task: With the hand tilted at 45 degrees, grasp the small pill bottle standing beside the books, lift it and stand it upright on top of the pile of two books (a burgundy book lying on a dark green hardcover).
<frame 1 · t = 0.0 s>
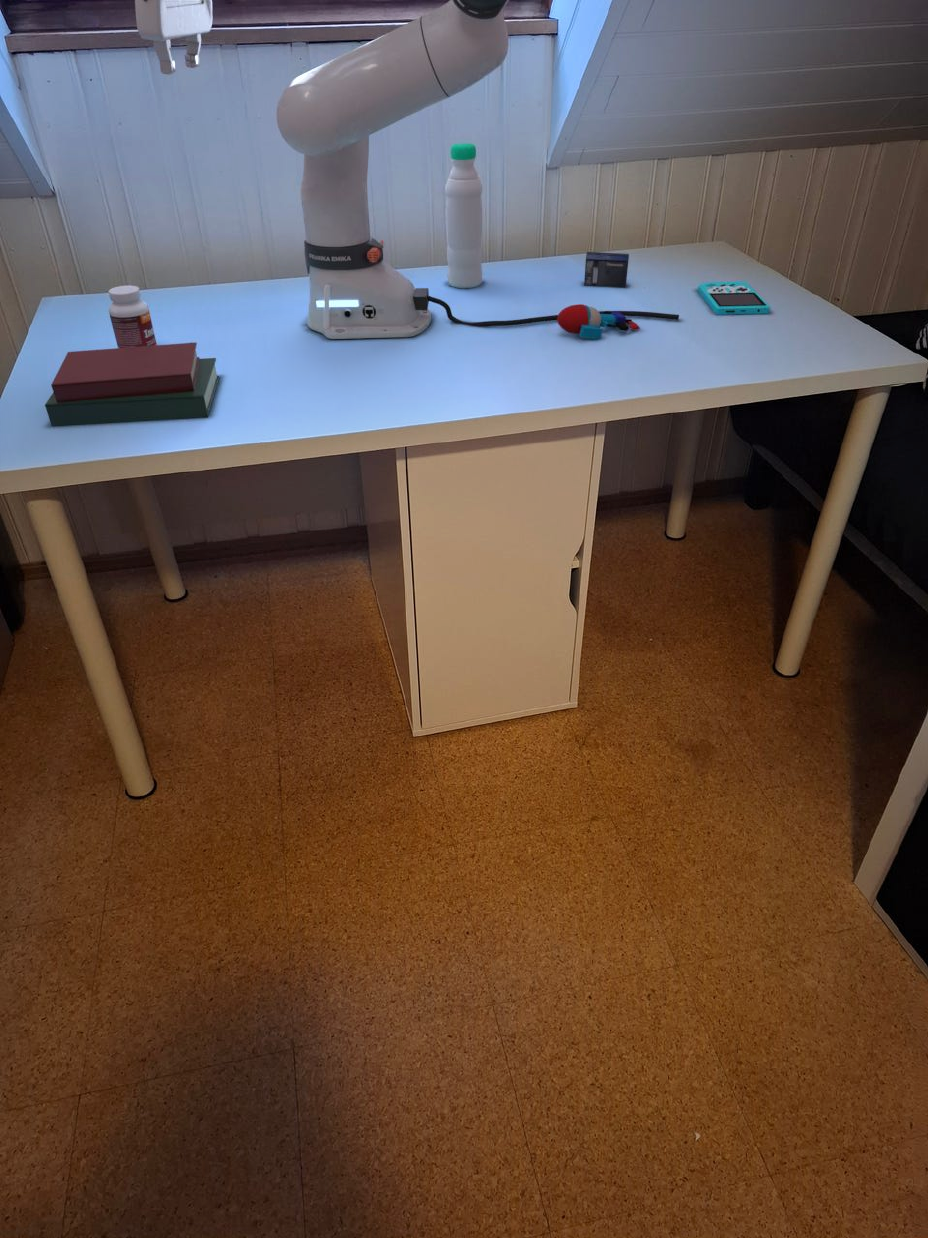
hand: (181, 70, 137), 39 cm above the table, tool pointing down, fingers open, 8 cm apart
toy figure: (595, 332, 152), on the table
handheld game console: (731, 301, 164), on the table
water bottle: (464, 284, 175), on the table
lower book: (139, 400, 131), on the table
pill bottle: (140, 358, 145), on the table
upper book: (131, 379, 129), resting on lower book
mini dv tape: (604, 286, 173), on the table
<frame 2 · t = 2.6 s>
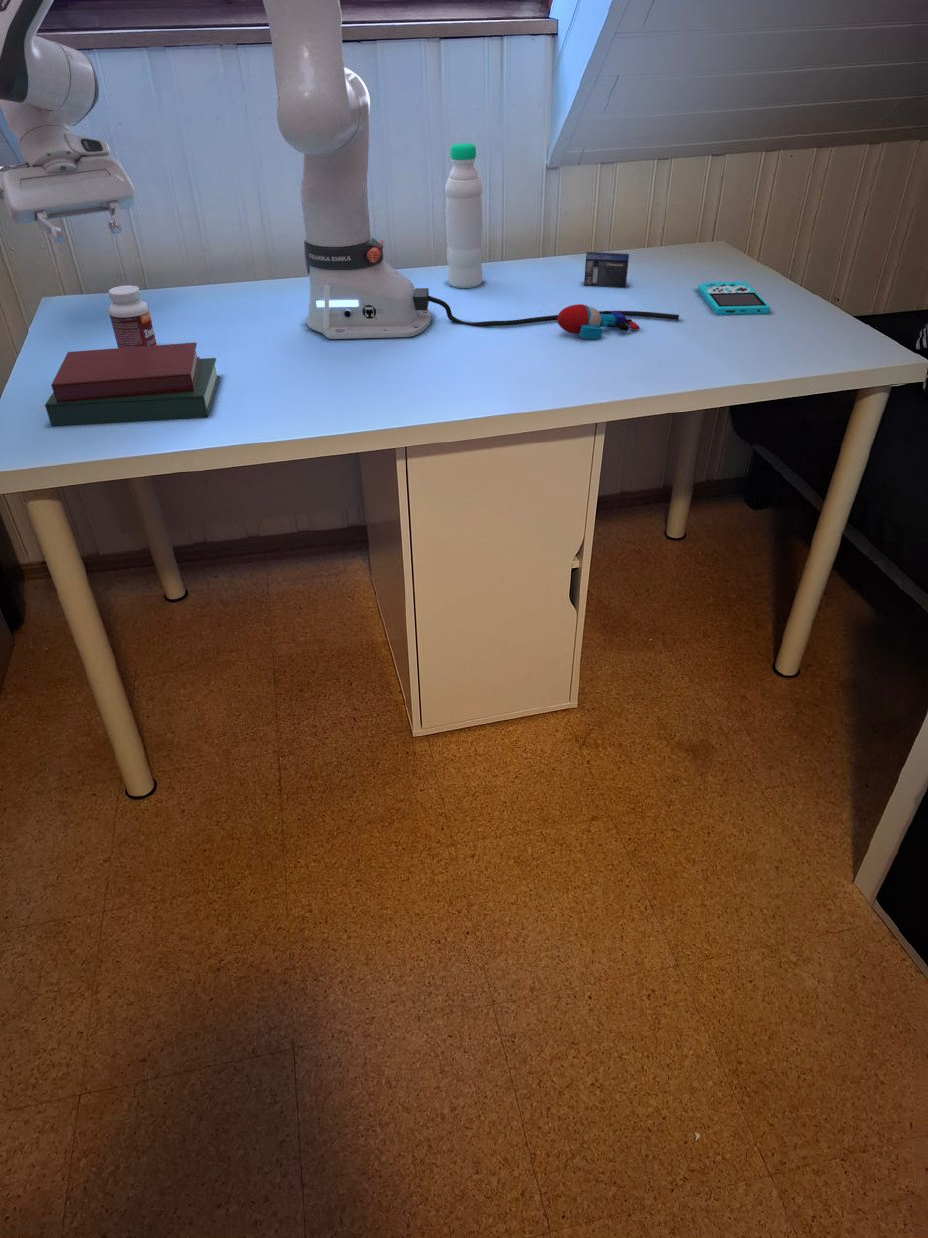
hand: (88, 235, 143), 17 cm above the table, tool tilted 45°, fingers open, 8 cm apart
nothing on the table moved.
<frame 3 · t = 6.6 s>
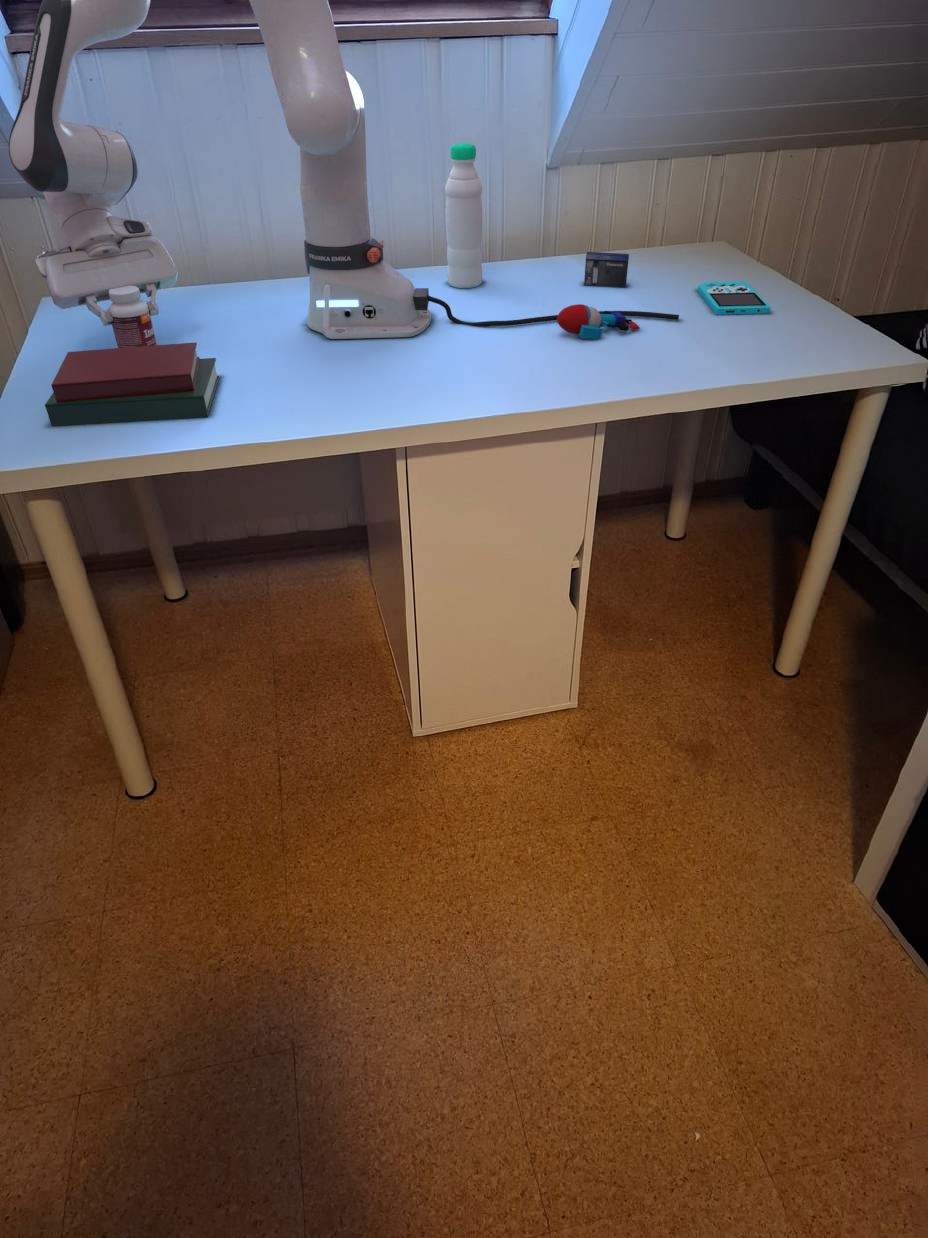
hand: (132, 318, 141), 7 cm above the table, tool tilted 45°, fingers closed on pill bottle, 6 cm apart
pill bottle: (140, 358, 145), on the table, touching gripper
everything else where it was.
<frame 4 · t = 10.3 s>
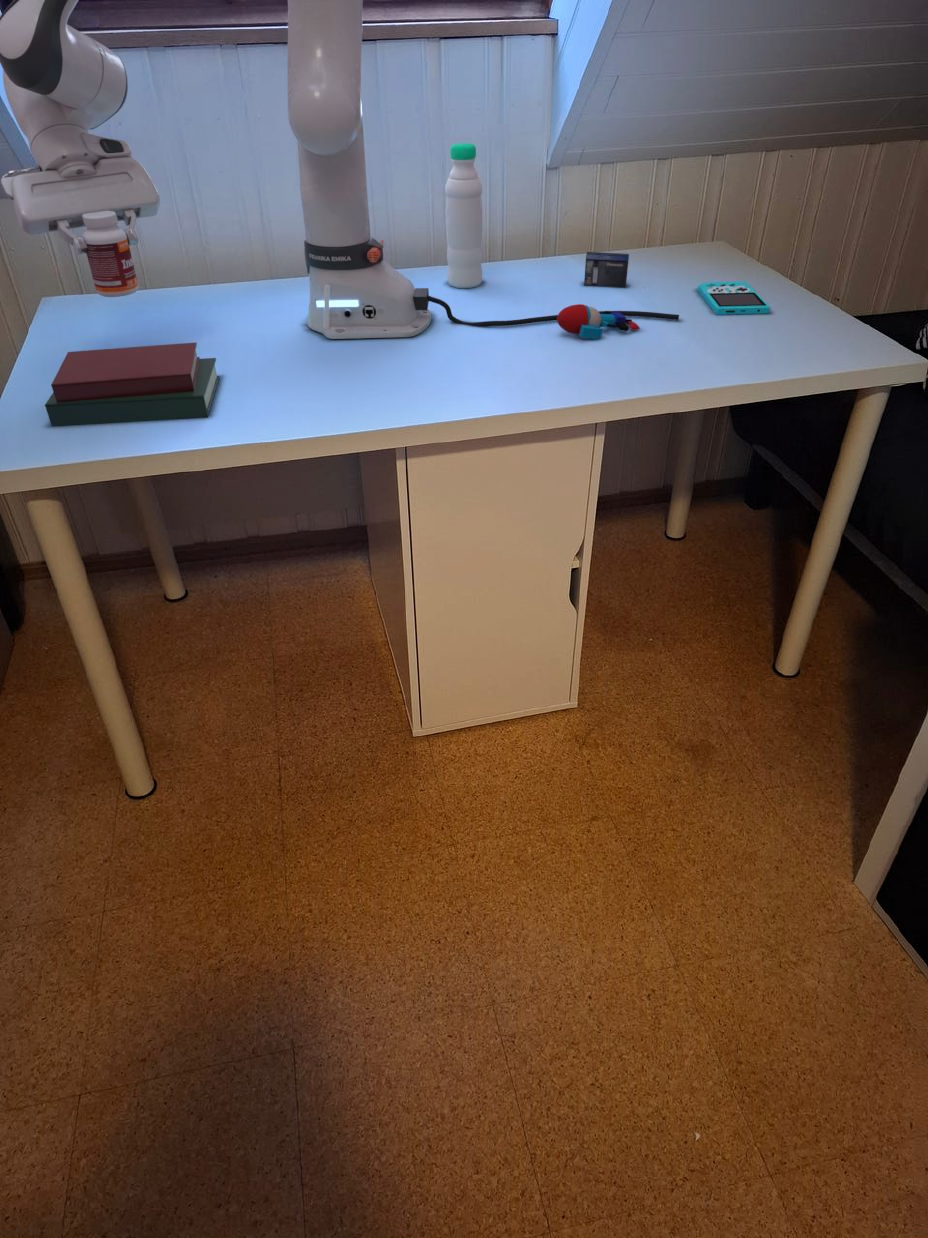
hand: (108, 247, 127), 19 cm above the table, tool tilted 45°, fingers closed on pill bottle, 6 cm apart
pill bottle: (118, 293, 132), point 13 cm above the table, touching gripper
everything else where it was.
when the fingers open (12 cm above the table, at t = 14.3 s): pill bottle stays where it is, resting on upper book.
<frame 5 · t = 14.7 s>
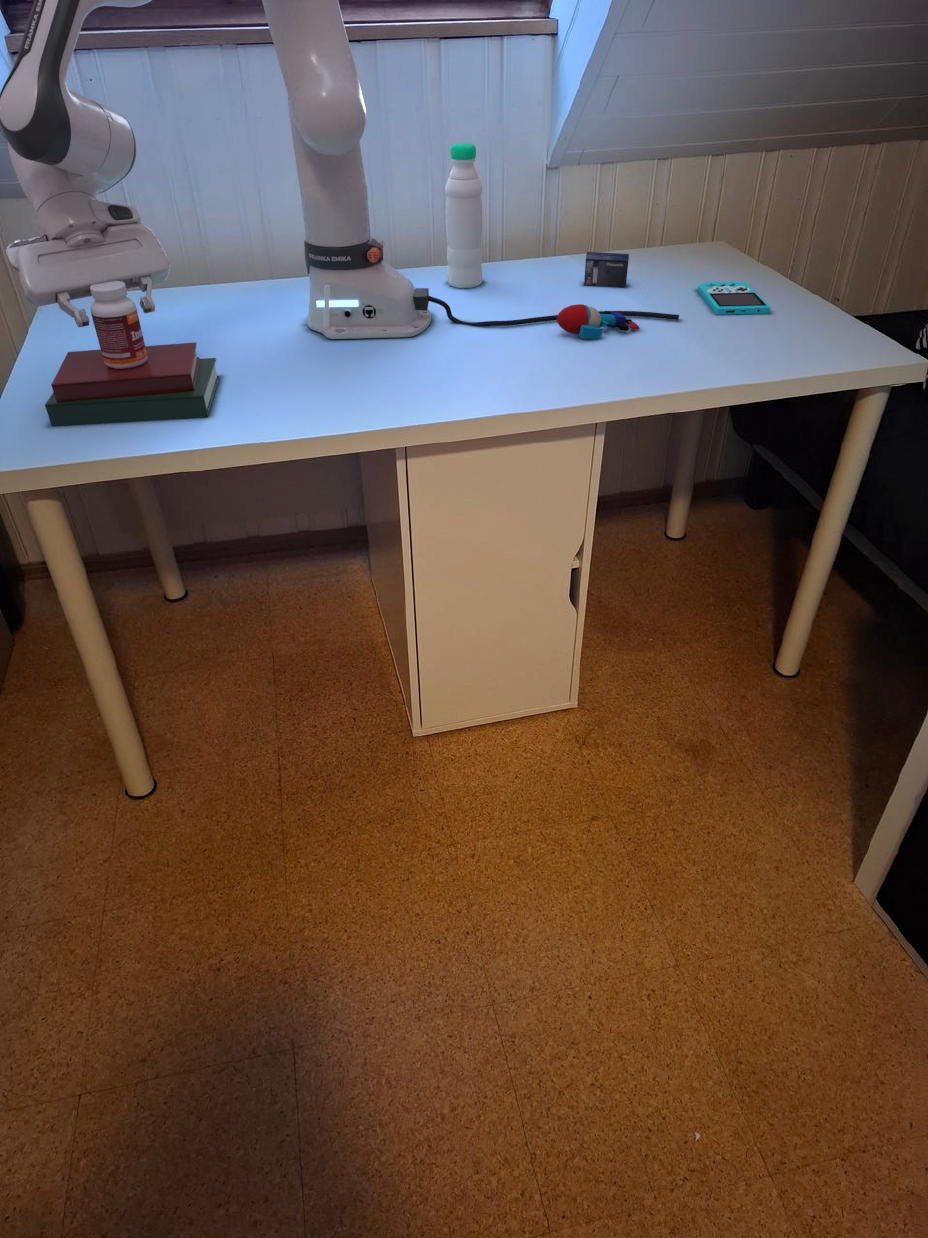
hand: (117, 317, 123), 13 cm above the table, tool tilted 45°, fingers open, 8 cm apart
pill bottle: (127, 363, 127), point 6 cm above the table, touching upper book
everything else where it was.
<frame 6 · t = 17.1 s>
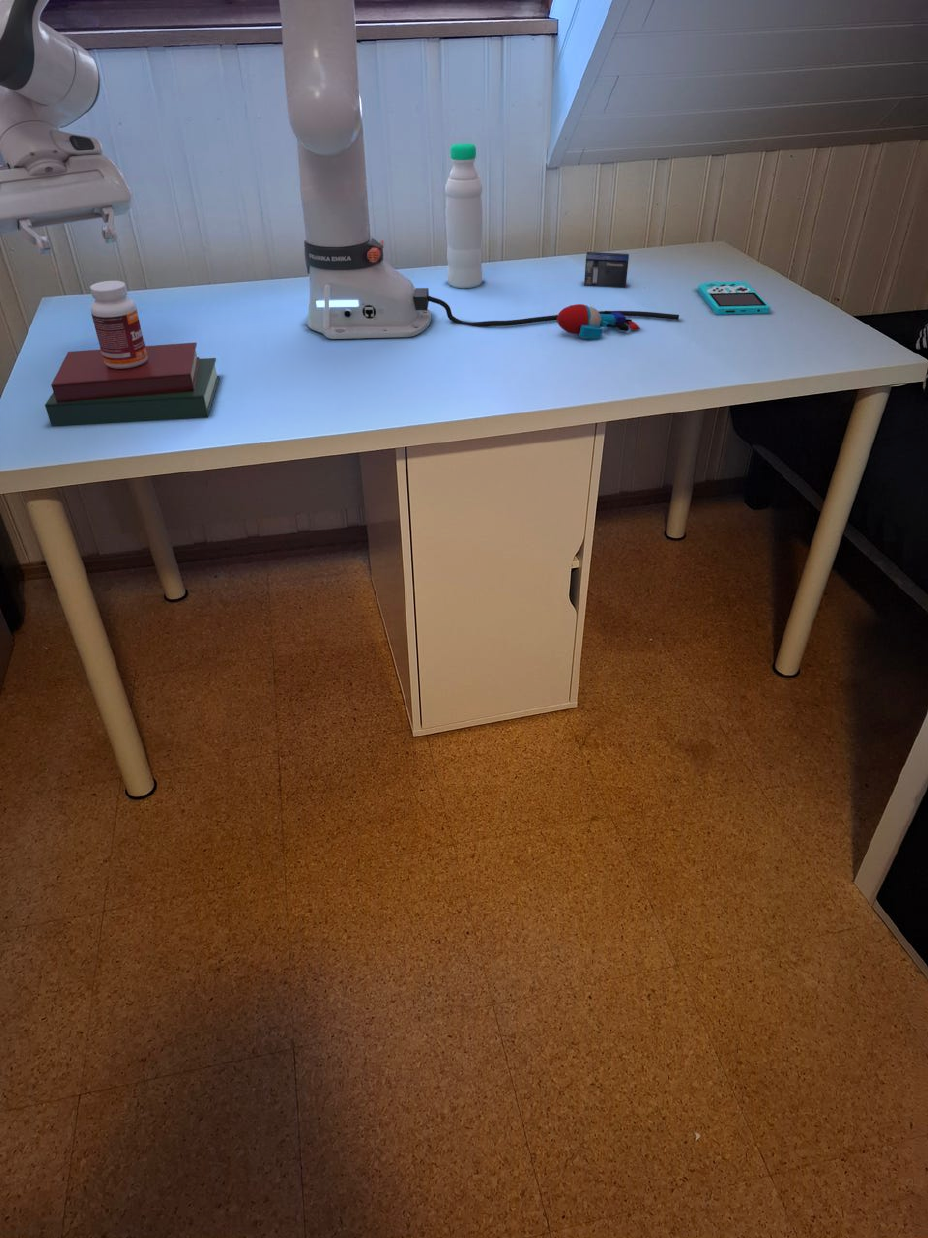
hand: (79, 245, 125), 20 cm above the table, tool tilted 45°, fingers open, 8 cm apart
nothing on the table moved.
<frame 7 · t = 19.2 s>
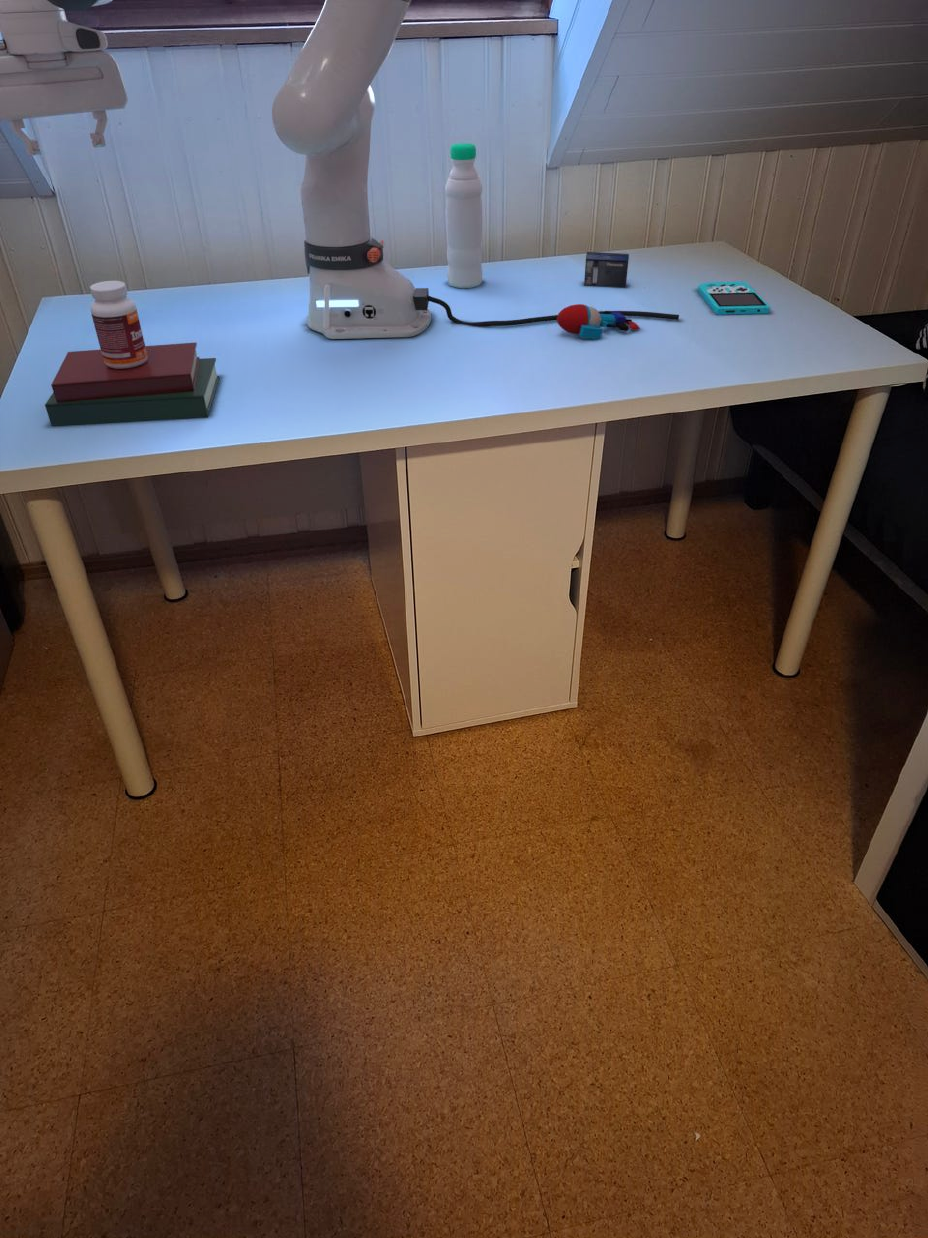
hand: (67, 150, 127), 31 cm above the table, tool pointing down, fingers open, 8 cm apart
nothing on the table moved.
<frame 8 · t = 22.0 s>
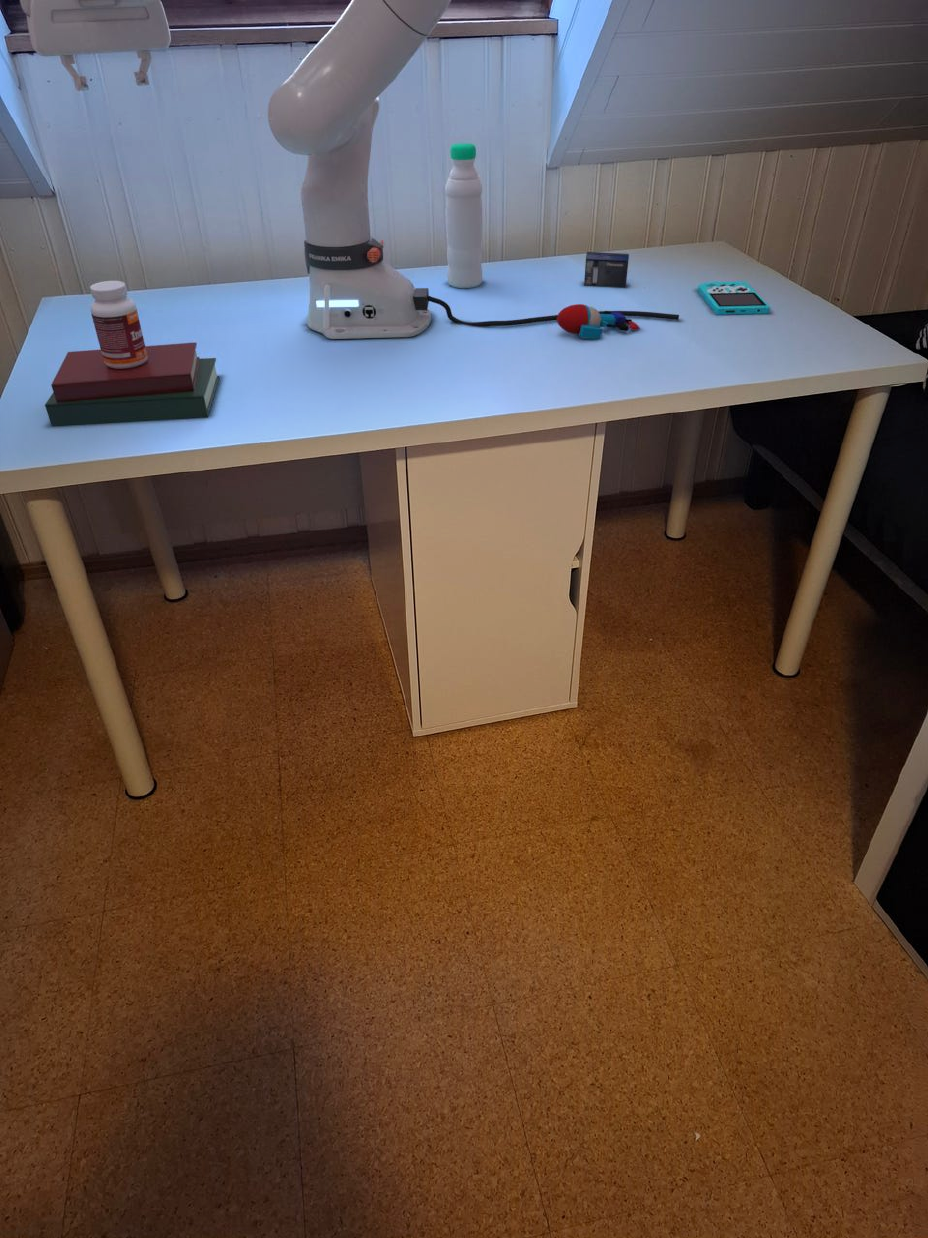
hand: (113, 87, 134), 37 cm above the table, tool pointing down, fingers open, 8 cm apart
nothing on the table moved.
at the end: pill bottle inside the target area on the upper book (0.1 cm from its centre), point 2.4 cm above the upper book's base; pill bottle tilted 0°; the gripper is holding nothing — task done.
